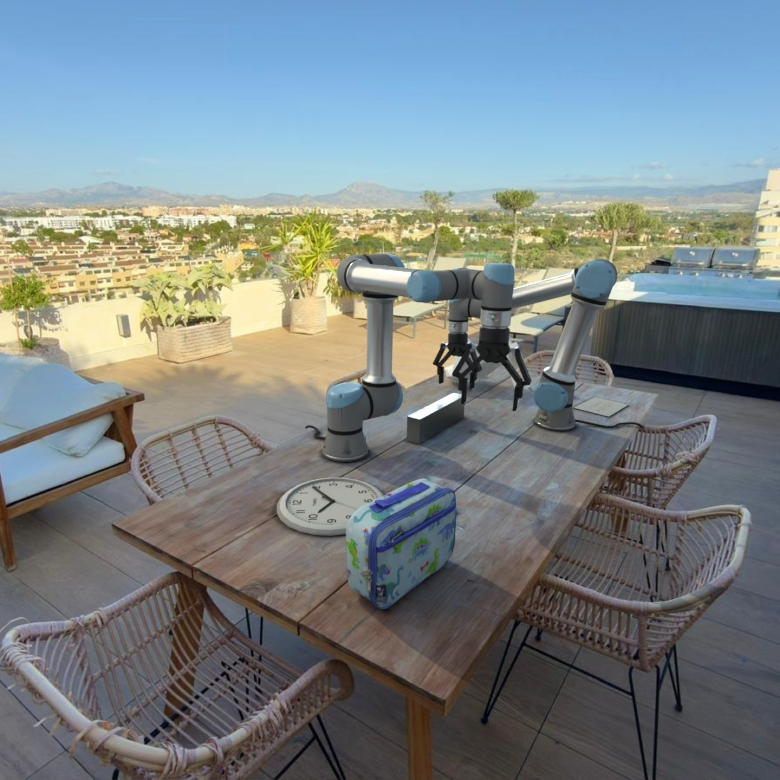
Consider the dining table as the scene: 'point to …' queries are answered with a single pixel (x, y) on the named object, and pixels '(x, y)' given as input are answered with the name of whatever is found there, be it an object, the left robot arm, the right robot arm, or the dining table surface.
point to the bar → (434, 418)
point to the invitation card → (601, 406)
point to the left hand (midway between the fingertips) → (488, 406)
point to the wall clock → (324, 504)
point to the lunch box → (400, 540)
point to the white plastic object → (486, 367)
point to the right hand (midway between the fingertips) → (456, 385)
